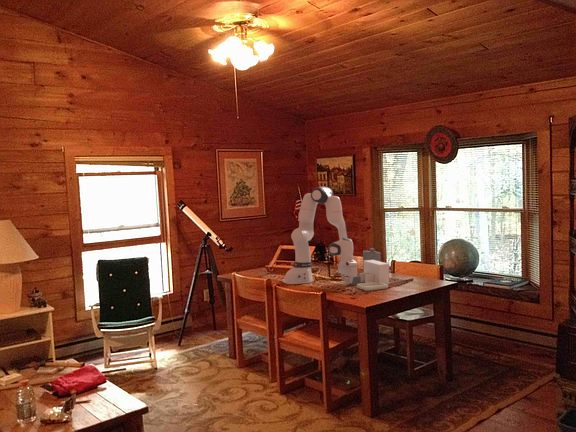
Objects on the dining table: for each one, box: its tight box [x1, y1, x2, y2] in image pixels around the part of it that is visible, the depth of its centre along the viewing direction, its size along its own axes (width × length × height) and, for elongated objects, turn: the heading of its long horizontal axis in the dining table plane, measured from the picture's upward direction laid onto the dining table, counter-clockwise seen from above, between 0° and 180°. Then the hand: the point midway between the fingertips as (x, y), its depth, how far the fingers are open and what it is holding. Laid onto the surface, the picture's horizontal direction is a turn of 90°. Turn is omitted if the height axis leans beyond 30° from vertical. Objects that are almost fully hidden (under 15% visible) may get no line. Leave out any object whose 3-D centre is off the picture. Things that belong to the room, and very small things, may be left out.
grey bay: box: [358, 260, 390, 285], centre depth 384 cm, size 15×20×14 cm
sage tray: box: [356, 282, 389, 292], centre depth 365 cm, size 17×12×2 cm
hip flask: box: [362, 247, 382, 273], centre depth 412 cm, size 16×4×20 cm, turn 43°
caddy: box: [344, 274, 362, 286], centre depth 377 cm, size 11×5×6 cm, turn 115°
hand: (347, 281), depth 376 cm, fingers open, 8 cm apart
